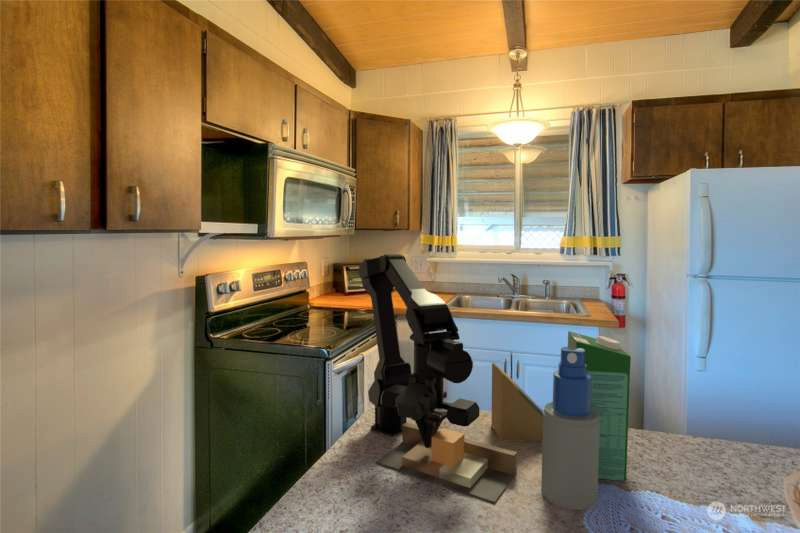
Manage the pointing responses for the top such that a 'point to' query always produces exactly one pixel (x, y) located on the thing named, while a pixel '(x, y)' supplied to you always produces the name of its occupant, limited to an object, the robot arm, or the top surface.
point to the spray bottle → (571, 436)
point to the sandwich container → (514, 410)
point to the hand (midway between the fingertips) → (428, 447)
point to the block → (447, 447)
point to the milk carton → (608, 399)
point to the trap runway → (473, 475)
